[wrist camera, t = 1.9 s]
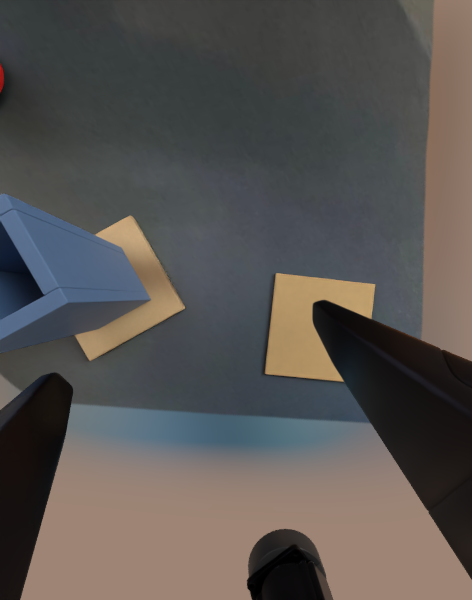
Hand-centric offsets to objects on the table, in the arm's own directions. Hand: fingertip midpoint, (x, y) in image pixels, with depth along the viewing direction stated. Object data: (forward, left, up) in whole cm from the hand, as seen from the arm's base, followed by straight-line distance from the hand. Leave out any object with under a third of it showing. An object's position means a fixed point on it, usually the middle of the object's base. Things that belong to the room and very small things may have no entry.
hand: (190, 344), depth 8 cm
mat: (+8, -7, -15) cm, 18 cm away
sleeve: (-6, +8, -13) cm, 17 cm away
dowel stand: (-6, +8, -15) cm, 18 cm away
